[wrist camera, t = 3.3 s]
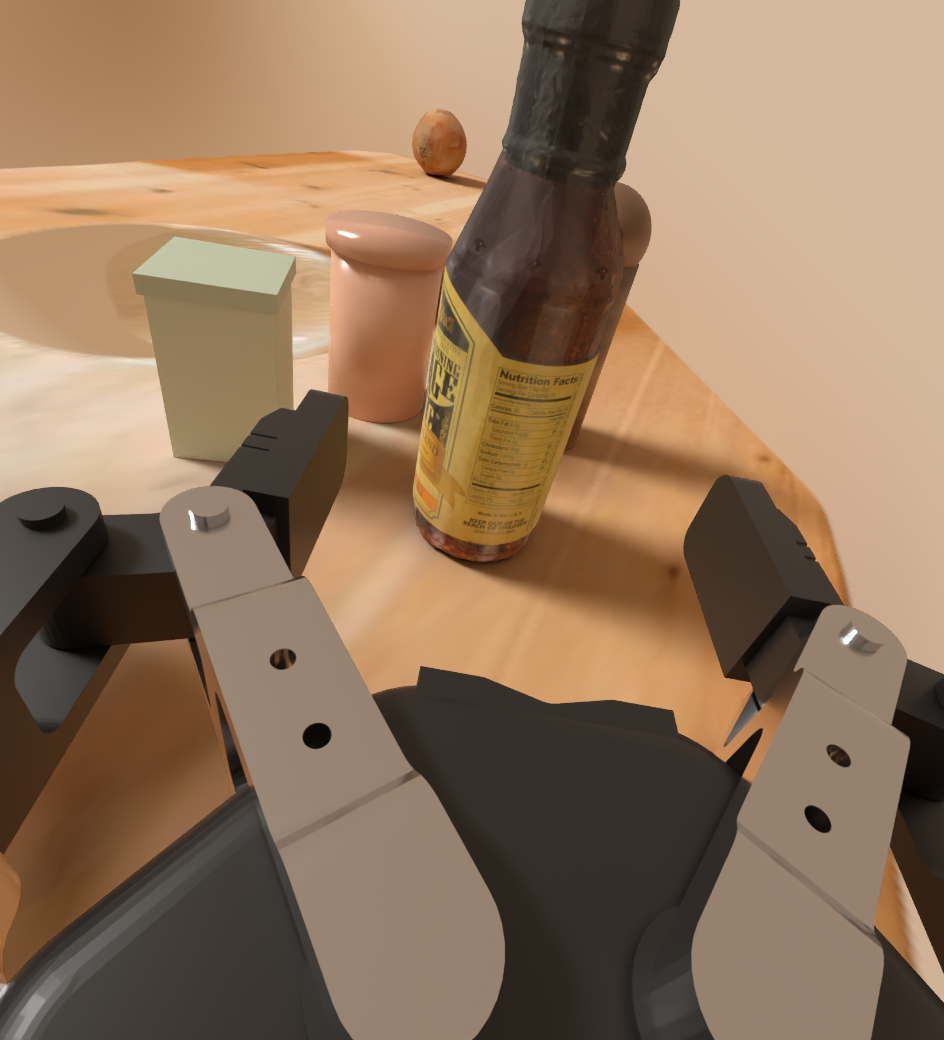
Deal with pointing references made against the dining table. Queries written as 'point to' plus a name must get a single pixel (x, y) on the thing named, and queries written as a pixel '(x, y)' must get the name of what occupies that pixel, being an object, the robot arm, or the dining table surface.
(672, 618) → the dining table surface
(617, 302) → the walnut pepper mill
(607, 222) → the sauce bottle
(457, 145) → the onion
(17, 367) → the dining table surface
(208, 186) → the dining table surface
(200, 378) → the sage tin
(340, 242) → the terracotta jar
